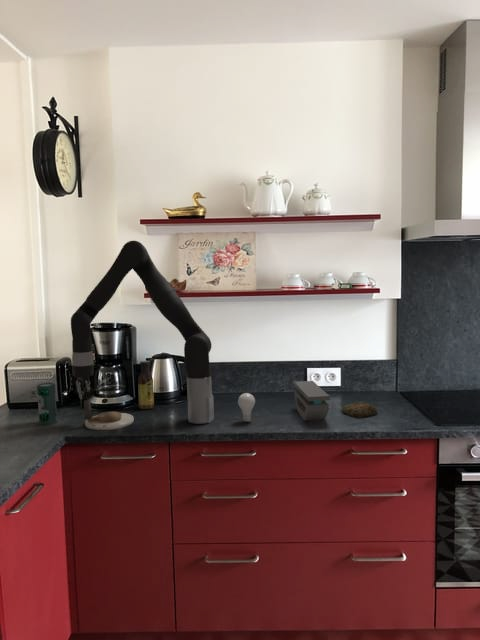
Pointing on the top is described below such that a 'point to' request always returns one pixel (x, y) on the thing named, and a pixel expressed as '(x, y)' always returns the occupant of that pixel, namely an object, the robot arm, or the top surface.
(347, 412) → the bread roll
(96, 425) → the dial base
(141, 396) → the sauce bottle
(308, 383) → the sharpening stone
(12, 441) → the top surface
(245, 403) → the lightbulb
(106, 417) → the brown disc with handle
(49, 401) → the green patterned block
